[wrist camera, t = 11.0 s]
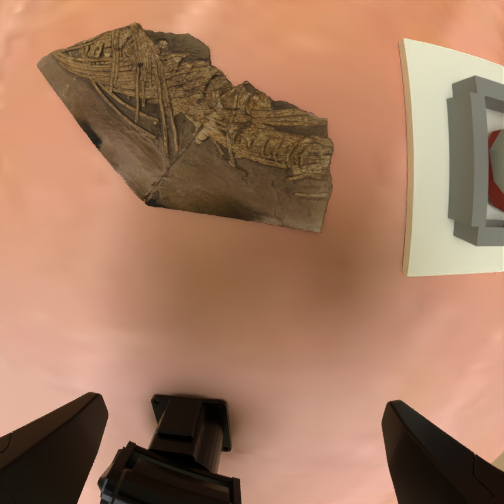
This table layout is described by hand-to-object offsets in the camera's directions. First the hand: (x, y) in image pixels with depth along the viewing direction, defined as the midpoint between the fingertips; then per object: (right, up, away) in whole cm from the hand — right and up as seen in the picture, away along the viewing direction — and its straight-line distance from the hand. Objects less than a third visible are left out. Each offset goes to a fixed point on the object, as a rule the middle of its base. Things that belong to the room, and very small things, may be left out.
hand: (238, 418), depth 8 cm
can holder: (+18, +11, +9) cm, 24 cm away
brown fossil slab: (-6, +14, +11) cm, 18 cm away
